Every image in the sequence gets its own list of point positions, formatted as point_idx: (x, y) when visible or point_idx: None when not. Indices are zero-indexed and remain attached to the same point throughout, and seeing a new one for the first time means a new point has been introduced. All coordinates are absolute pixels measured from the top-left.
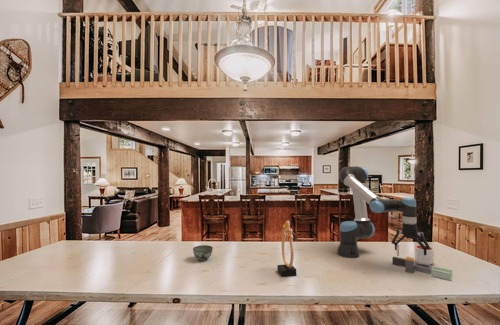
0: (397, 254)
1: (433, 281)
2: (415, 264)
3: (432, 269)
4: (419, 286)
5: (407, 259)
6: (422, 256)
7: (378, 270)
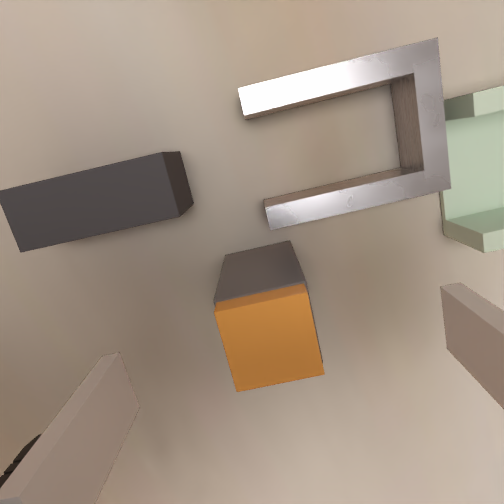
0: (124, 426)
1: None
2: (251, 115)
3: (492, 246)
4: (431, 499)
5: (260, 380)
6: (488, 389)
7: None
